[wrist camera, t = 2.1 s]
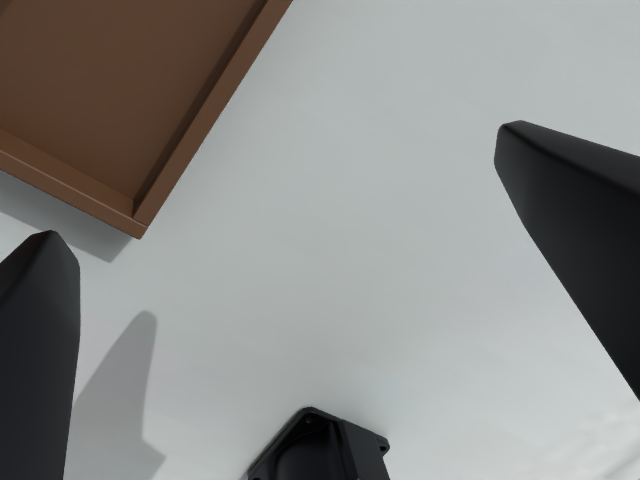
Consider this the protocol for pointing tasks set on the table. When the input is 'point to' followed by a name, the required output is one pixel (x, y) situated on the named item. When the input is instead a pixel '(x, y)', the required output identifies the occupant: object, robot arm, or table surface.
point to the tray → (119, 94)
